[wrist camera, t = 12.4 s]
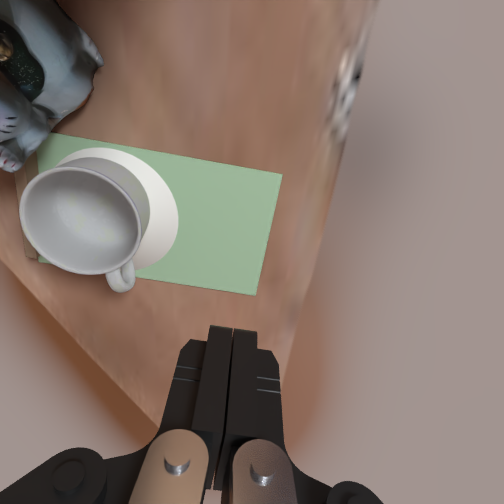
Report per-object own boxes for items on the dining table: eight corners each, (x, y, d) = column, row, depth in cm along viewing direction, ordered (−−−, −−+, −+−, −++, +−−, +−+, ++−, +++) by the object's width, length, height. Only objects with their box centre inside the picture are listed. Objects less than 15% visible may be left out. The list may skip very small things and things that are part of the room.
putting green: (23, 127, 36) (7, 131, 34) (282, 174, 38) (283, 181, 36) (39, 261, 44) (27, 271, 42) (255, 294, 46) (255, 306, 43)
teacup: (46, 152, 37) (-3, 174, 30) (147, 142, 37) (121, 162, 29) (88, 266, 44) (55, 306, 37) (174, 259, 43) (158, 299, 36)
